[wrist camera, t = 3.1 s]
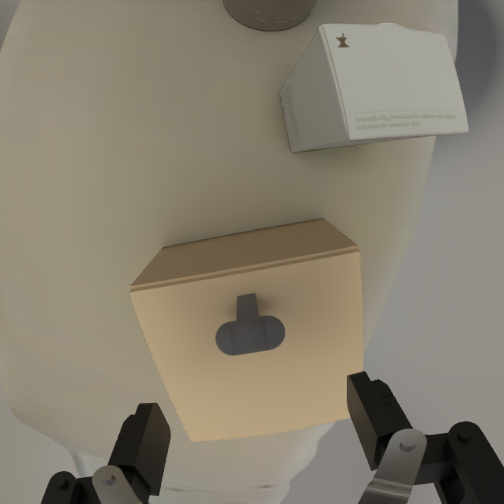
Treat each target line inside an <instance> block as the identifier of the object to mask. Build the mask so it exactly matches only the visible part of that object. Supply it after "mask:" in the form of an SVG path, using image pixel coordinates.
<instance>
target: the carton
mask: <svg viewBox="0 0 504 504" xmlns="http://www.w3.org/2000/svg"><path fill="white" fill-rule="evenodd" d="M353 249H358V245H357V244H355V243H354V242H353V241H351V240H350V239H349V238H348V237H346V236H345V235H344V234H342V233H341V232H340V231H339V230H337V229H336V228H335V227H333V226H332V225H331V224H329V223H328V222H327V221H325V220H324V219H323V218H321V219H316V220H310V221H304V222H298V223H292V224H287V225H281V226H275V227H270V228H264V229H259V230H253V231H248V232H242V233H237V234H231V235H226V236H221V237H215V238H210V239H205V240H200V241H194V242H189V243H184V244H179V245H174V246H169V247H164V248H162V249H161V250H160V251H159V253H158V254H157V255H156V256H155V257H154V258H153V260H152V261H151V262H150V263H149V264H148V265H147V267H146V268H145V269H144V270H143V271H142V273H141V274H140V275H139V276H138V277H137V278H136V280H135V281H134V282H133V283H132V285H131V286H130V288H131V289H135V288H141V287H147V286H153V285H159V284H165V283H171V282H177V281H183V280H189V279H195V278H200V277H206V276H212V275H218V274H223V273H229V272H235V271H240V270H246V269H251V268H257V267H262V266H268V265H273V264H279V263H284V262H290V261H295V260H301V259H306V258H311V257H317V256H322V255H327V254H332V253H338V252H343V251H348V250H353Z"/></svg>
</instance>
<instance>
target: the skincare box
mask: <svg viewBox="0 0 504 504" xmlns="http://www.w3.org/2000/svg"><path fill="white" fill-rule="evenodd" d="M280 98H281V103H282V108H283V113H284V118H285V123H286V128H287V133H288V138H289V142H290V147H291V152H292V153H298V152H305V151H312V150H319V149H327V148H335V147H342V146H350V145H358V144H366V143H375V142H383V141H392V140H400V139H409V138H418V137H426V136H436V135H445V134H456V133H466V132H468V131H469V129H468V123H467V117H466V111H465V106H464V102H463V98H462V94H461V90H460V85H459V81H458V77H457V73H456V69H455V66H454V62H453V58H452V55H451V52H450V48H449V45H448V42H447V39H446V36H445V34H443V33H437V32H431V31H426V30H420V29H414V28H407V27H402V26H400V25H398V24H395V23H389V22H384V23H380V24H377V25H371V24H322V25H321V26H319V27H318V30H317V33H316V35H315V36H314V38H313V40H312V41H311V43H310V45H309V46H308V48H307V49H306V51H305V52H304V54H303V56H302V57H301V59H300V60H299V62H298V64H297V65H296V67H295V69H294V70H293V72H292V73H291V75H290V77H289V78H288V80H287V82H286V83H285V85H284V86H283V88H282V90H281V91H280Z"/></svg>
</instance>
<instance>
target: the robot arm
mask: <svg viewBox="0 0 504 504" xmlns="http://www.w3.org/2000/svg"><path fill="white" fill-rule="evenodd" d="M315 2H316V0H223V3H224V6H225V8H226V10H227V11H228V13H229V14H230V15H231V16H232V17H233V18H234V19H236V20H237V21H238V22H240V23H242V24H244V25H246V26H248V27H251V28H254V29H258V30H265V31H278V30H284V29H288V28H291V27H294V26H296V25H298V24H299V23H301V22H303V21H304V20H305V19H306V18H307V17H308V15H309V14H310V12H311V10H312V8H313V6H314V4H315ZM347 407H348V411H349V414H350V417H351V419H352V422H353V424H354V427H355V429H356V432H357V435H358V437H359V440H360V442H361V445H362V447H363V450H364V453H365V455H366V458H367V460H368V463H369V466H370V469H371V471H373V470H376V469H377V471H376V474H375V476H374V478H373V480H372V481H371V483H369V484H368V486H367V488H366V489H365V491H364V493H363V495H362V497H361V499H360V501H359V503H358V504H407V502H408V499H409V497H410V494H411V491H412V487H413V485H419V484H427V483H434V485H435V488H436V490H437V493H438V495H439V498H440V500H441V503H442V504H504V467H503V465H502V463H501V462H500V460H499V458H498V457H497V455H496V453H495V452H494V450H493V448H492V447H491V445H490V443H489V442H488V440H487V439H486V437H485V436H484V434H483V432H482V431H481V429H480V428H479V426H477V425H476V424H475V423H472V422H467V421H464V422H459V423H457V424H455V425H454V426H453V427H451V429H450V430H449V432H448V433H443V434H436V435H425V434H423V433H422V432H420V431H418V430H416V429H413V427H412V426H411V424H410V422H409V421H408V419H407V417H406V415H405V414H404V412H403V410H402V409H401V407H400V405H399V403H398V402H397V400H396V398H395V397H394V395H393V393H392V392H391V390H390V388H389V387H388V385H387V384H385V383H384V382H382V381H381V380H379V379H378V380H374V381H370V379H369V377H368V375H367V373H366V372H365V371H362V372H358V373H354V374H350V375H347ZM170 439H171V432H170V427H169V425H168V423H167V421H166V419H165V417H164V415H163V413H162V411H161V409H160V407H159V405H158V404H157V403H140V404H139V405H138V408H137V410H136V413H135V415H130V416H129V417H128V418H127V419H126V420H125V421H124V422H123V425H122V428H121V430H120V433H119V435H118V440H117V441H116V443H115V446H114V449H113V452H112V454H111V457H110V460H109V463H108V465H107V466H103V467H101V468H99V469H98V470H97V471H96V472H95V473H94V475H93V476H91V477H84V478H77V479H76V478H75V477H74V476H73V475H72V474H71V473H70V472H67V471H61V472H58V473H56V474H55V475H53V476H52V477H51V479H50V481H49V484H48V486H47V488H46V491H45V494H44V496H43V499H42V502H41V504H150V503H149V502H148V500H149V495H154V496H159V492H160V487H161V482H162V477H163V472H164V467H165V462H166V458H167V453H168V448H169V443H170Z"/></svg>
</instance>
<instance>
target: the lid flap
mask: <svg viewBox="0 0 504 504" xmlns="http://www.w3.org/2000/svg"><path fill="white" fill-rule="evenodd" d="M129 294H130V297H131V300H132V303H133V306H134V308H135V311H136V314H137V317H138V320H139V323H140V325H141V328H142V331H143V333H144V336H145V339H146V341H147V344H148V346H149V349H150V351H151V354H152V356H153V359H154V361H155V364H156V366H157V369H158V371H159V373H160V376H161V378H162V380H163V383H164V385H165V387H166V389H167V392H168V394H169V396H170V398H171V401H172V403H173V405H174V407H175V409H176V411H177V413H178V415H179V417H180V420H181V422H182V424H183V426H184V428H185V430H186V432H187V434H188V436H189V437H190V439H191V441H192V442H194V441H211V440H224V439H234V438H244V437H252V436H260V435H267V434H274V433H280V432H286V431H292V430H297V429H302V428H307V427H312V426H317V425H322V424H326V423H330V422H335V421H339V420H343V419H346V418H350V414H349V411H348V407H347V375H350V374H354V373H358V372H362V371H363V295H362V273H361V257H360V251H359V250H358V249H353V250H348V251H343V252H338V253H332V254H327V255H322V256H317V257H311V258H306V259H301V260H295V261H290V262H284V263H279V264H273V265H268V266H262V267H257V268H251V269H246V270H240V271H235V272H229V273H223V274H218V275H212V276H206V277H200V278H195V279H189V280H183V281H177V282H171V283H165V284H159V285H153V286H147V287H141V288H135V289H131V291H130V292H129Z"/></svg>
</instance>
